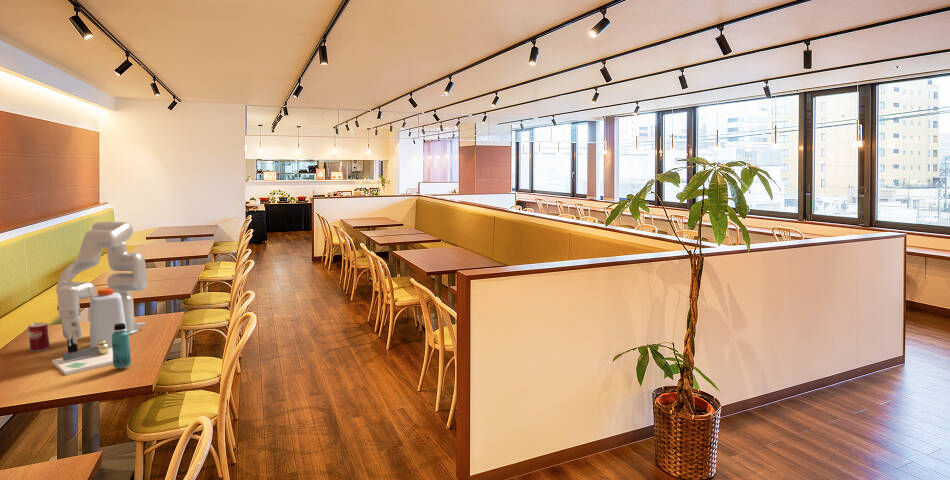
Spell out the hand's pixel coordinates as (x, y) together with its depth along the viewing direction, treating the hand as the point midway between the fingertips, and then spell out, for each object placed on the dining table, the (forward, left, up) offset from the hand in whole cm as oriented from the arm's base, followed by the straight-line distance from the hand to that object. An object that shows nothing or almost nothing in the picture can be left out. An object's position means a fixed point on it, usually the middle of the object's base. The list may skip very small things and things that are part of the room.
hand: (73, 353), depth 237 cm
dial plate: (-5, +7, -3) cm, 9 cm away
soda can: (+6, -29, -4) cm, 30 cm away
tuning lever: (-4, +4, -1) cm, 6 cm away
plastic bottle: (-17, -11, -4) cm, 21 cm away
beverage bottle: (-11, +26, -4) cm, 29 cm away
